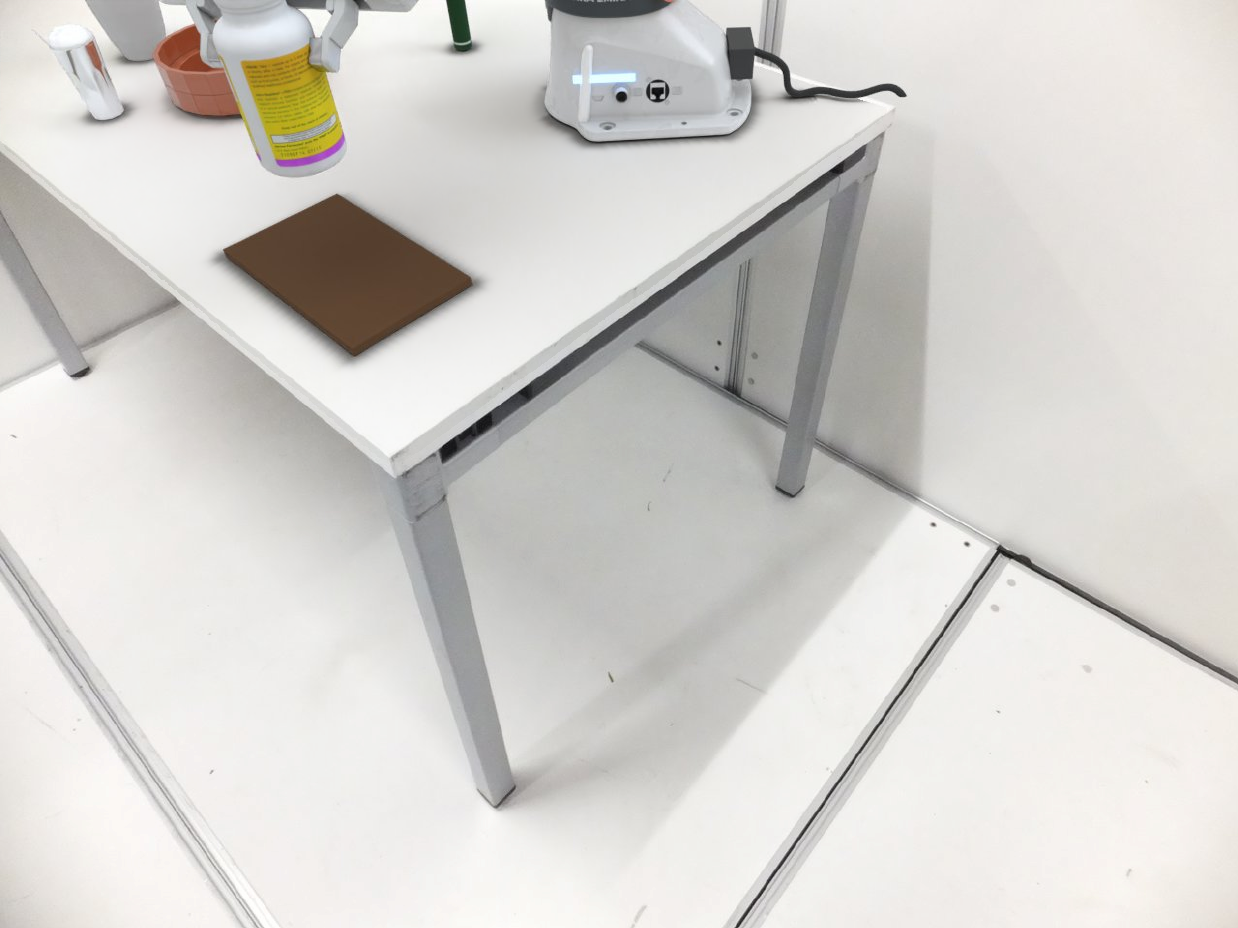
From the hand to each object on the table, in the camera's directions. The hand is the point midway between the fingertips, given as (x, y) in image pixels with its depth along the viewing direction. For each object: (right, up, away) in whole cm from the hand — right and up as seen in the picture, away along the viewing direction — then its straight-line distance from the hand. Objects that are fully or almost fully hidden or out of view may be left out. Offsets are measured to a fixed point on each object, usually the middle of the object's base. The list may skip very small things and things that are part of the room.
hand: (270, 67), depth 58 cm
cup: (-35, +23, +45) cm, 62 cm away
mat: (+1, -11, +14) cm, 18 cm away
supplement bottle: (0, -4, +6) cm, 7 cm away
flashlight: (+5, +23, +43) cm, 49 cm away
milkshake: (-33, +11, +35) cm, 49 cm away
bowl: (-19, +16, +38) cm, 45 cm away
